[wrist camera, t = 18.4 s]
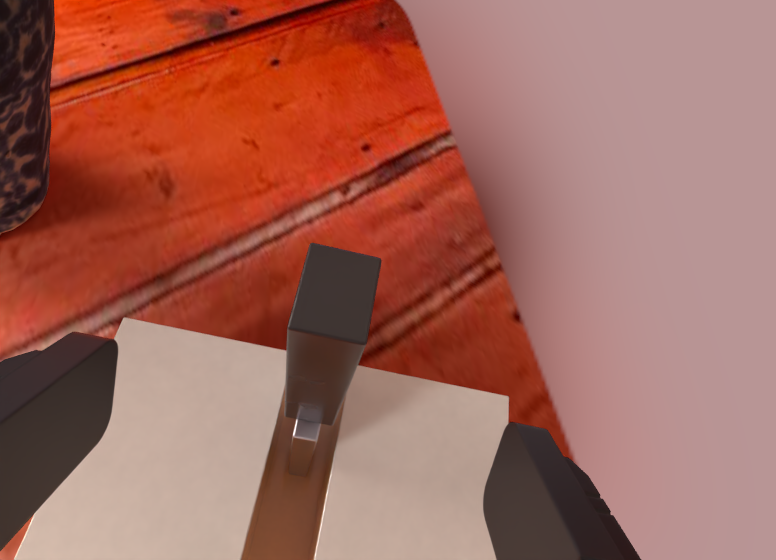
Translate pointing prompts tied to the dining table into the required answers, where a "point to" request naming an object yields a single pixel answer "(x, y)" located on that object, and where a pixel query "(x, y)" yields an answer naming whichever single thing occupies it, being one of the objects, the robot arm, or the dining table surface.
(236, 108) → the dining table surface
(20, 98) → the jug
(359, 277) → the knife
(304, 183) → the dining table surface
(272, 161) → the dining table surface
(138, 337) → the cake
